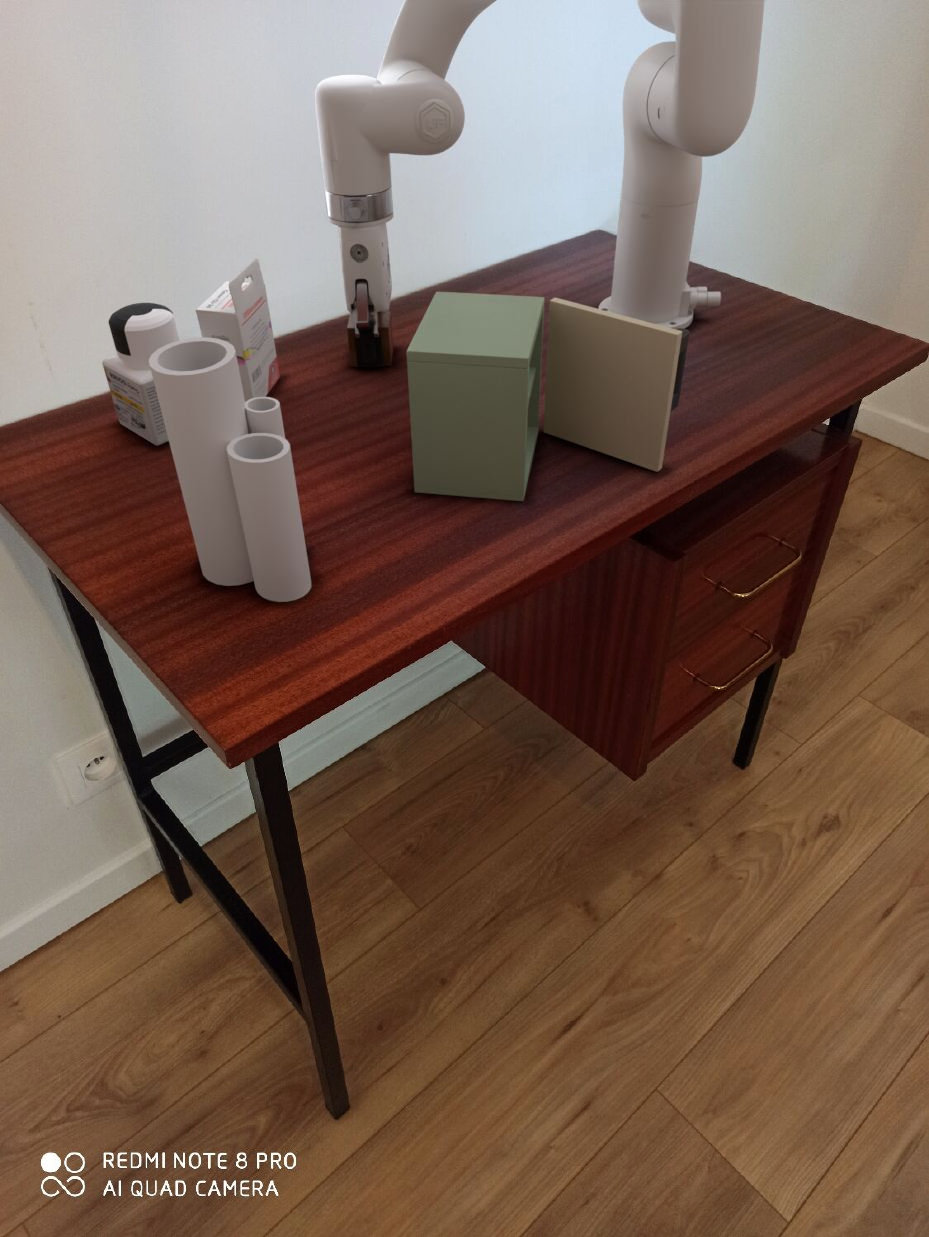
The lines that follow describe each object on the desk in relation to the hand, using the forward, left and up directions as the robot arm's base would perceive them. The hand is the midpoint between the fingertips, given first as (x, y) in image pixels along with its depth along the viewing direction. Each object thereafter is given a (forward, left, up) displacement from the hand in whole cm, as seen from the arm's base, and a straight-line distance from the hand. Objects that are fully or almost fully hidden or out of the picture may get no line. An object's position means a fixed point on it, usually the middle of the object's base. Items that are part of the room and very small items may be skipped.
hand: (372, 354), depth 114 cm
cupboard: (-13, +25, 0) cm, 28 cm away
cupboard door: (-28, +21, 0) cm, 35 cm away
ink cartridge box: (+14, +9, -1) cm, 17 cm away
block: (0, 0, 0) cm, 0 cm away
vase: (+7, +43, -1) cm, 44 cm away
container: (+22, +16, -1) cm, 27 cm away
